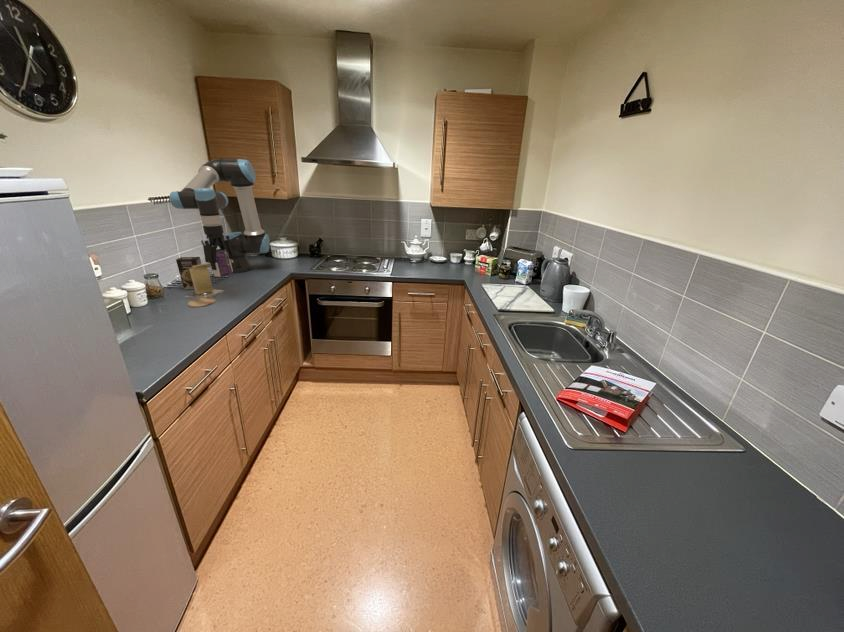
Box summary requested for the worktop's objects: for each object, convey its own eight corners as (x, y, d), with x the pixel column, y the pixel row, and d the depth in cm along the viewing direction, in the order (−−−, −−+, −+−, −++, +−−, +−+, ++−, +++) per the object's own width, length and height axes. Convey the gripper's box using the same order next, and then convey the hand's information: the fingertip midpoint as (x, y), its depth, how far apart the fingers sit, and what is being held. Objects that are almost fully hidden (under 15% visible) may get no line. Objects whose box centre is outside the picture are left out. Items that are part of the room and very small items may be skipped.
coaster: (202, 298, 157) (201, 296, 156) (221, 300, 155) (220, 298, 154) (181, 306, 147) (181, 304, 147) (201, 308, 145) (201, 306, 144)
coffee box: (183, 290, 167) (174, 259, 161) (188, 286, 173) (180, 256, 167) (203, 289, 170) (195, 258, 163) (207, 285, 175) (200, 256, 169)
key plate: (205, 290, 168) (204, 287, 167) (224, 292, 166) (224, 289, 165) (184, 297, 157) (184, 294, 157) (205, 299, 155) (204, 297, 154)
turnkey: (195, 293, 159) (188, 266, 154) (236, 284, 173) (230, 259, 168) (198, 294, 157) (190, 267, 152) (238, 285, 172) (233, 260, 167)
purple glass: (228, 272, 159) (223, 248, 154) (235, 275, 155) (229, 250, 150) (213, 275, 154) (207, 250, 149) (219, 278, 150) (213, 252, 145)
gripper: (222, 221, 155) (232, 267, 164) (186, 227, 137) (200, 279, 146) (235, 222, 153) (245, 269, 162) (200, 228, 135) (213, 280, 145)
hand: (223, 273), depth 154 cm, fingers closed on purple glass, 7 cm apart
